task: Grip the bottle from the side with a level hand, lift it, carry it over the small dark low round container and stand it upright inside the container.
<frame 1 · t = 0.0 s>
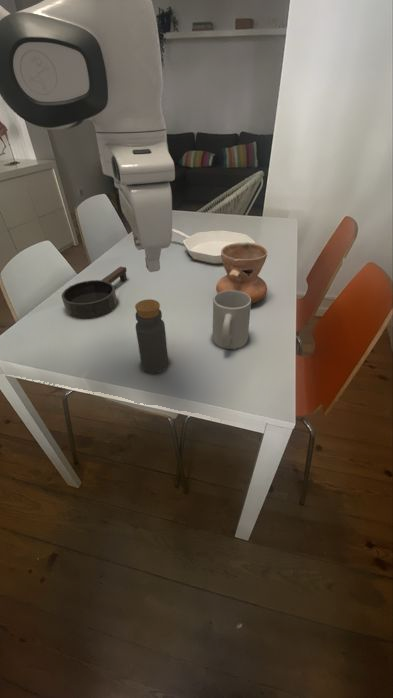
hand: (146, 258, 50), 26 cm above the table, tool pointing down, fingers open, 8 cm apart
dark brown rectangular block: (114, 280, 99), on the table
ceramic jug: (241, 297, 93), on the table
bottle: (155, 365, 70), on the table
mug: (228, 343, 76), on the table
dark low round container: (92, 305, 91), on the table
pan: (198, 249, 125), on the table
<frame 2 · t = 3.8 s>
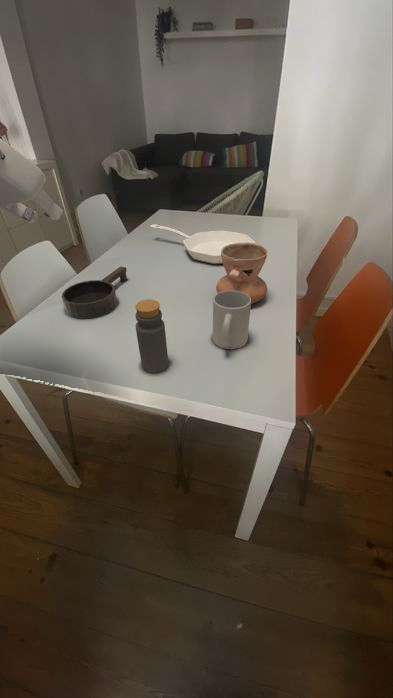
hand: (46, 217, 49), 32 cm above the table, tool tilted 40°, fingers open, 8 cm apart
nothing on the table moved.
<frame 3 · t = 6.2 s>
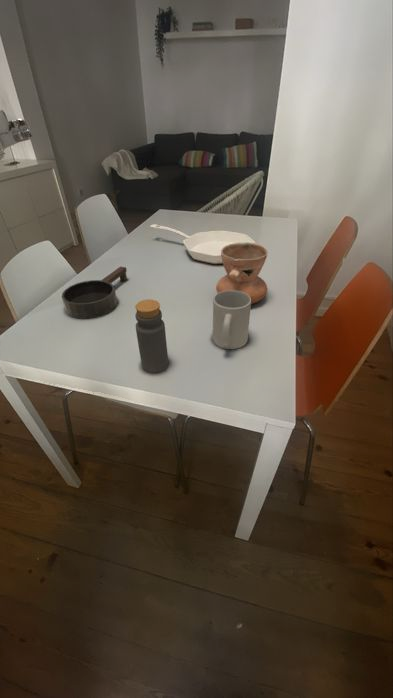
hand: (19, 124, 30), 44 cm above the table, tool horizontal, fingers open, 8 cm apart
nothing on the table moved.
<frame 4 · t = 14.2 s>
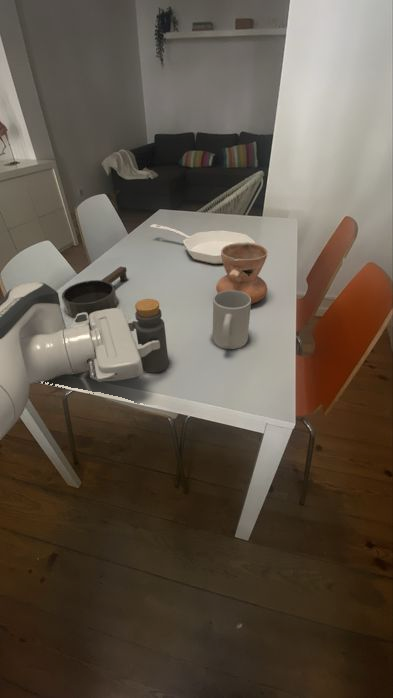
hand: (154, 332, 65), 8 cm above the table, tool horizontal, fingers closed on bottle, 6 cm apart
bottle: (155, 364, 70), on the table, touching gripper
everything else where it was.
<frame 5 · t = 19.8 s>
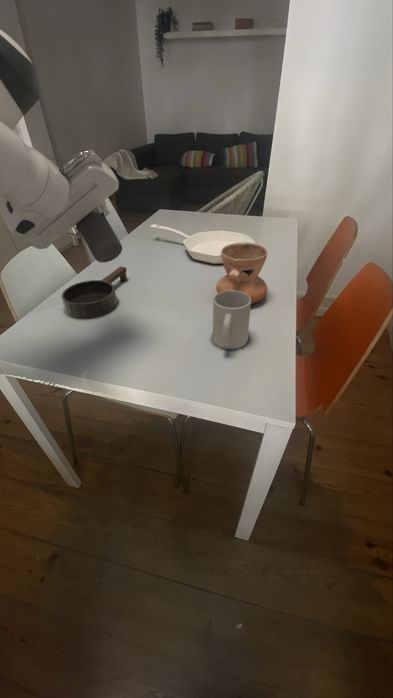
hand: (92, 223, 64), 27 cm above the table, tool tilted 50°, fingers closed on bottle, 6 cm apart
bottle: (109, 253, 62), point 22 cm above the table, touching gripper
everything else where it was.
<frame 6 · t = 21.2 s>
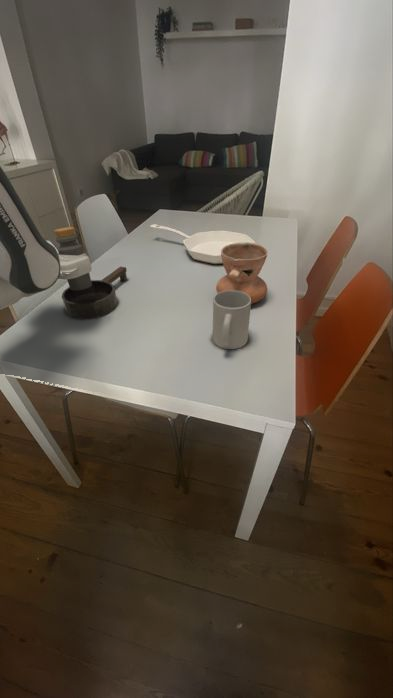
hand: (73, 256, 82), 15 cm above the table, tool horizontal, fingers closed on bottle, 6 cm apart
bottle: (81, 287, 86), point 6 cm above the table, touching gripper
everything else where it was.
when the fingers open (9 cm above the table, at t = 24.8 s): bottle stays where it is, resting on dark low round container.
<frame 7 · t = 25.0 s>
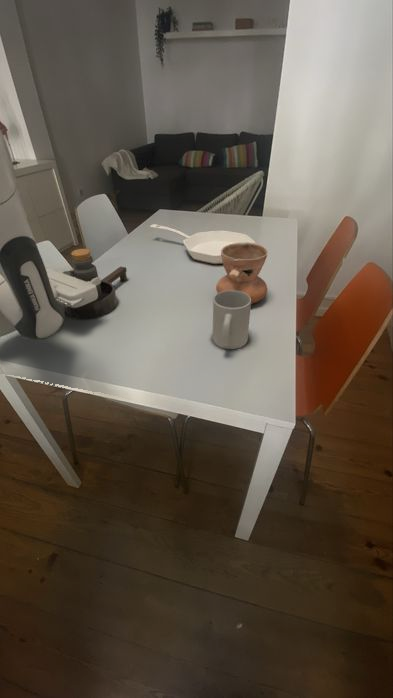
hand: (87, 275, 86), 9 cm above the table, tool horizontal, fingers open, 8 cm apart
bottle: (93, 303, 91), point 1 cm above the table, touching dark low round container
everything else where it was.
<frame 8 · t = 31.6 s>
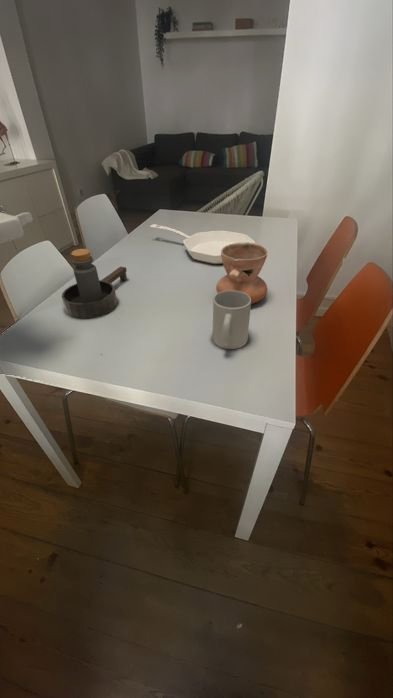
hand: (17, 213, 66), 28 cm above the table, tool horizontal, fingers open, 8 cm apart
nothing on the table moved.
at the end: bottle inside the target area in the dark low round container (0.5 cm from its centre), point 0.6 cm above the dark low round container's base; bottle tilted 0°; the gripper is holding nothing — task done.
